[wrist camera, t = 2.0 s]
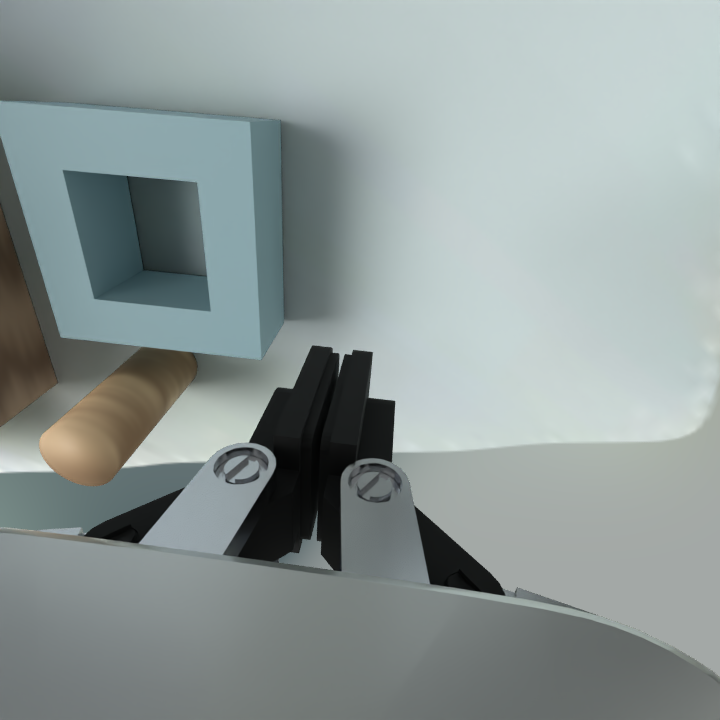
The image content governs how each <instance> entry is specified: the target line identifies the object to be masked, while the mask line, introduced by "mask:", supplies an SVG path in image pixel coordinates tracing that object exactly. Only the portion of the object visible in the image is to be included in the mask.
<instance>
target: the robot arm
mask: <svg viewBox="0 0 720 720" xmlns="http://www.w3.org/2000/svg"><path fill="white" fill-rule="evenodd" d="M372 355H373V352H367V351H358V350H353V352H352V355H347V354H345V356H344V359H343V363H342V366H341V370H340V373H339V353H333V349H332V348H331V347H322V346H312V347H311V349H310V351H309V354H308V356H307V358H306V361H305V363H304V365H303V367H302V370H301V372H300V374H299V377H298V379H297V381H296V383H295V386H294V388H293V389H288V388H279V387H278V388H277V389H276V390H275V392H274V394H273V396H272V398H271V400H270V402H269V404H268V406H267V408H266V410H265V411H264V413H263V415H262V417H261V419H260V421H259V423H258V425H257V427H256V429H255V431H254V433H253V435H252V437H251V439H250V441H249V443H237V444H233V445H230V446H226V447H224V448H223V449H221V450H219V451H217V452H216V453H215V454H214V455H213V456H212V457H211V458H210V459H209V460H208V461H207V462H206V464H205V465H204V466H203V467H202V468H201V470H200V471H199V472H198V473H197V474H196V476H195V477H194V478H193V479H192V481H190V483H189V484H188V485H187V486H186V487H185V488H182V489H180V490H178V491H175V492H173V493H171V494H168V495H166V496H164V497H161V498H159V499H157V500H154V501H152V502H150V503H147V504H145V505H142V506H140V507H138V508H135V509H133V510H131V511H128V512H126V513H124V514H121V515H119V516H116V517H114V518H112V519H110V520H107V521H105V522H103V523H101V524H99V525H98V526H96V527H94V528H92V529H91V530H90V531H89V532H87V533H83V530H82V528H81V527H80V528H64V529H48V530H24V529H15V528H4V527H0V720H720V677H719V676H718V675H717V674H715V673H714V672H713V671H712V670H710V669H709V668H707V667H706V666H704V665H703V664H701V663H699V662H698V661H697V660H695V659H694V658H692V657H690V656H688V655H687V654H685V653H683V652H681V651H680V650H678V649H676V648H675V647H673V646H670V645H668V644H666V643H664V642H662V641H660V640H658V639H656V638H654V637H652V636H650V635H648V634H646V633H644V632H642V631H640V630H637V629H635V628H632V627H629V626H626V625H624V624H621V623H618V622H616V621H613V620H610V619H607V618H605V617H602V616H598V615H595V614H592V613H589V612H587V611H584V610H581V609H578V608H575V607H572V606H570V605H567V604H564V603H561V602H558V601H555V600H552V599H549V598H546V597H543V596H541V595H538V594H535V593H532V592H529V591H526V590H523V589H521V588H518V587H517V588H516V591H515V593H514V592H511V591H508V590H505V589H503V588H502V587H501V586H500V583H499V582H498V581H497V580H496V579H495V578H494V577H493V576H492V574H491V573H490V572H488V571H487V570H486V569H485V568H484V567H483V566H482V565H480V564H479V563H478V562H477V561H476V560H475V559H474V558H473V557H472V556H470V555H469V554H468V553H467V552H466V551H465V550H464V549H463V548H461V547H460V546H459V545H458V544H457V543H456V542H455V541H454V540H452V539H451V538H450V537H449V536H448V535H447V534H446V533H444V532H443V531H442V530H441V529H440V528H439V527H438V526H437V525H435V524H434V523H433V522H432V521H431V520H430V519H429V518H428V517H427V516H425V515H424V514H423V513H422V512H421V511H420V510H419V509H418V508H416V507H415V506H414V502H413V497H412V492H411V487H410V482H409V480H408V477H407V475H406V474H405V473H404V472H403V470H402V469H401V468H399V467H398V466H397V465H395V464H393V463H392V450H393V432H394V414H395V401H391V400H382V399H374V398H368V397H369V387H370V377H371V366H372ZM338 373H339V377H338ZM317 511H318V521H317V541H321V555H322V556H323V557H324V558H325V560H326V561H327V562H328V564H329V565H330V566H331V567H332V568H333V570H327V569H320V568H313V567H305V566H299V565H291V564H284V563H279V558H281V557H282V556H284V555H286V554H287V553H289V552H294V553H299V551H300V547H301V543H302V539H308V540H310V539H311V536H312V532H313V528H314V523H315V519H316V515H317Z"/></svg>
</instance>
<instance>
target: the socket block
mask: <svg viewBox="0 0 720 720" xmlns="http://www.w3.org/2000/svg"><path fill="white" fill-rule="evenodd" d="M0 137H1V140H2V143H3V147H4V150H5V153H6V157H7V160H8V163H9V167H10V170H11V173H12V177H13V180H14V183H15V187H16V190H17V193H18V197H19V200H20V203H21V207H22V210H23V213H24V217H25V220H26V223H27V227H28V230H29V233H30V237H31V240H32V243H33V247H34V250H35V253H36V257H37V260H38V263H39V267H40V270H41V273H42V277H43V280H44V283H45V287H46V290H47V293H48V297H49V300H50V303H51V307H52V310H53V313H54V317H55V320H56V323H57V327H58V330H59V333H60V337H62V338H70V339H79V340H88V341H97V342H106V343H115V344H124V345H133V346H141V347H150V348H159V349H168V350H177V351H186V352H195V353H204V354H212V355H221V356H230V357H239V358H248V359H257V360H262V358H263V357H264V355H265V353H266V352H267V350H268V348H269V347H270V345H271V343H272V342H273V340H274V338H275V337H276V335H277V333H278V332H279V330H280V328H281V327H282V325H283V323H284V291H283V233H282V176H281V120H273V119H261V118H248V117H236V116H224V115H212V114H200V113H188V112H176V111H164V110H152V109H140V108H128V107H115V106H103V105H91V104H79V103H67V102H31V101H0ZM127 176H134V177H145V178H156V179H167V180H178V181H189V182H197V186H198V196H199V205H200V214H201V224H202V233H203V242H204V252H205V261H206V271H207V277H205V276H196V275H186V274H176V273H166V272H157V271H147V270H143V264H142V259H141V253H140V248H139V242H138V237H137V231H136V225H135V220H134V214H133V209H132V203H131V198H130V192H129V187H128V181H127Z"/></svg>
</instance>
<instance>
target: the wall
mask: <svg viewBox="0 0 720 720" xmlns="http://www.w3.org/2000/svg"><path fill="white" fill-rule="evenodd" d="M57 383H58V382H57V379H56V376H55V373H54V370H53V367H52V364H51V361H50V357H49V354H48V351H47V348H46V345H45V342H44V339H43V336H42V333H41V329H40V326H39V323H38V320H37V317H36V314H35V311H34V308H33V305H32V302H31V298H30V295H29V292H28V289H27V286H26V283H25V280H24V277H23V274H22V271H21V267H20V264H19V261H18V258H17V255H16V252H15V249H14V246H13V243H12V239H11V236H10V233H9V230H8V227H7V224H6V221H5V218H4V215H3V212H2V208H1V205H0V427H1V426H2V425H4V424H5V423H6V422H8V421H9V420H10V419H12V418H13V417H14V416H16V415H17V414H18V413H19V412H21V411H22V410H23V409H25V408H26V407H27V406H29V405H30V404H31V403H32V402H34V401H35V400H36V399H38V398H39V397H40V396H42V395H43V394H44V393H46V392H47V391H48V390H49V389H51V388H52V387H53V386H55V385H56V384H57Z"/></svg>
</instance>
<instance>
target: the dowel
mask: <svg viewBox="0 0 720 720" xmlns="http://www.w3.org/2000/svg"><path fill="white" fill-rule="evenodd" d="M196 374H197V362H196V359H195V357H194V355H193V354H192V352H186V351H177V350H168V349H159V348H150V347H142V348H141V349H139V350H138V351H137V352H136V353H135V354H134V355H133V356H131V357H130V358H129V359H128V360H127V361H126V362H125V363H123V364H122V365H121V366H120V367H119V368H118V369H116V370H115V371H114V372H113V373H112V374H111V375H110V376H108V377H107V378H106V379H105V380H104V381H103V382H102V383H100V384H99V385H98V386H97V387H96V388H95V389H94V390H92V391H91V392H90V393H89V394H88V395H87V396H86V397H84V398H83V399H82V400H81V401H80V402H79V403H78V404H76V405H75V406H74V407H73V408H72V409H71V410H70V411H68V412H67V413H66V414H65V415H64V416H63V417H62V418H60V419H59V420H58V421H57V422H56V423H55V424H53V425H52V426H51V427H50V428H49V429H48V430H47V431H45V432H44V433H43V435H42V436H41V438H40V441H39V448H40V452H41V454H42V457H43V458H44V460H45V461H46V463H47V464H48V465H49V466H50V467H51V468H52V469H53V470H54V471H55V472H56V473H58V474H59V475H61V476H62V477H64V478H66V479H67V480H69V481H72V482H74V483H77V484H81V485H86V486H100V485H104V484H106V483H108V482H109V481H110V480H111V479H113V477H114V476H115V475H116V474H117V472H118V471H119V470H120V469H121V468H122V466H123V465H124V464H125V463H126V461H127V460H128V459H129V458H130V457H131V455H132V454H133V453H134V452H135V450H136V449H137V448H138V447H139V445H140V444H141V443H142V442H143V441H144V439H145V438H146V437H147V436H148V434H149V433H150V432H151V431H152V430H153V428H154V427H155V426H156V425H157V423H158V422H159V421H160V420H161V418H162V417H163V416H164V415H165V414H166V412H167V411H168V410H169V409H170V407H171V406H172V405H173V404H174V403H175V401H176V400H177V399H178V398H179V396H180V395H181V394H182V393H183V392H184V390H185V389H186V388H187V387H188V385H189V384H190V383H191V382H192V380H193V379H194V378H195V376H196Z"/></svg>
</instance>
